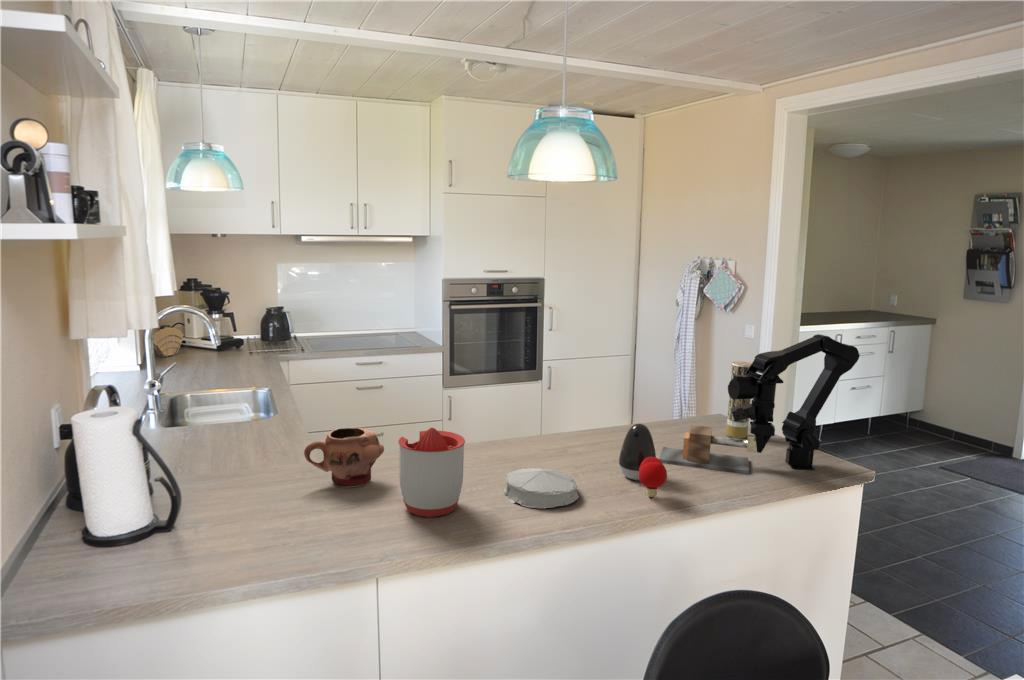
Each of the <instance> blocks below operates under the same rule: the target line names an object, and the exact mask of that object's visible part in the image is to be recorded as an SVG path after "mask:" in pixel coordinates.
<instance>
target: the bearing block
mask: <svg viewBox="0 0 1024 680" xmlns="http://www.w3.org/2000/svg"><path fill="white" fill-rule="evenodd" d="M689 430H690V431H689V433H690V436H689V449H688V459H683V448H675V447H666V446H662V450H661V451H660V452H661V453H660V456H659V458H658V459H659V460H660V461H661V462H662V463H663V464H669V465H676V466H684V467H691V468H692V467H693V468H699V469H700V468H701V469H708V470H715V471H720V472H721V471H722V472H729V473H736V474H737V473H738V474H744V475H749V474H750V469H749V467H750V466H749V457H745V456H737V455H730V454H729V455H728V454H721V453H715V452H714V453H713V452H711V436H713V435H712V432H713V427H711V426H704V425H703V426H702V425H695V424H691V427H690V429H689Z"/></svg>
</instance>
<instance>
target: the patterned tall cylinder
mask: <svg viewBox="0 0 1024 680" xmlns="http://www.w3.org/2000/svg"><path fill="white" fill-rule="evenodd" d="M752 363H753V362H747V361H732V364H731V372H730V373H731V375H730V381H731V380H732V379H733V376H734V375H740V376H743V375H744V373H745V372H746V371H747V369H748V368H749V367H750V365H751V364H752ZM728 396H729V395H728ZM751 403H752V399H732V398H731V397H730V396H729V398H728V408H727V420H726V431H725V433H726V435H727V437H728V438H736V439H746V438H748V431H749V425H750V418H747V419H742V420H740V421H734V418H733V415H732V411H731V409H732V408H733V407H737V406H742V405H747V404H751Z"/></svg>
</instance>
